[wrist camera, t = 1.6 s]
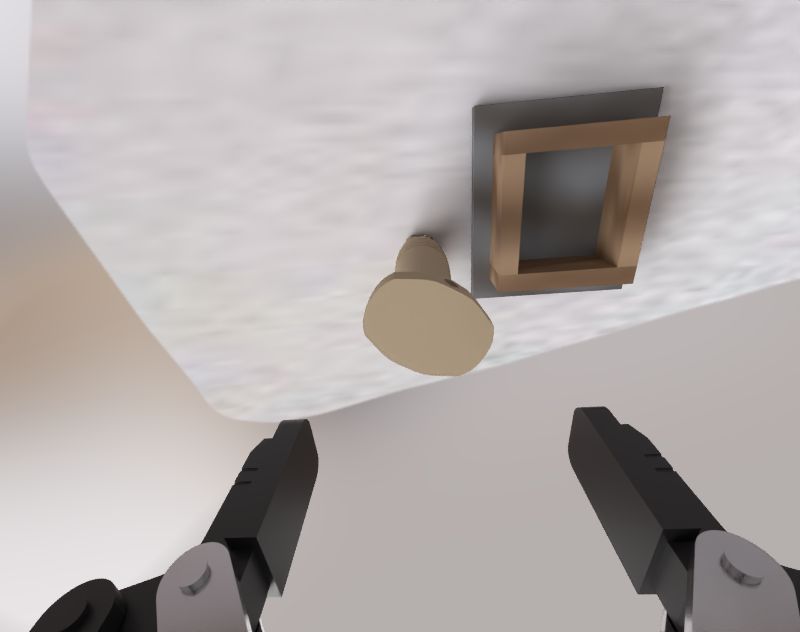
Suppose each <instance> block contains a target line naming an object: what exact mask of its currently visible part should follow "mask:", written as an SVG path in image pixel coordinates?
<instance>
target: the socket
mask: <svg viewBox="0 0 800 632" xmlns="http://www.w3.org/2000/svg"><path fill="white" fill-rule="evenodd" d="M663 88H664V87H660V88H650V89H640V90H630V91H620V92H610V93H600V94H590V95H580V96H570V97H560V98H550V99H540V100H530V101H521V102H511V103H501V104H491V105H481V106H474V107H473V108H472V252H471V295H472V296H473V297H474V298H475V299H476V298H491V297H506V296H521V295H536V294H551V293H566V292H581V291H596V290H611V289H622V284H632V283H633V281H634V276H635V272H636V267H637V263H638V258H639V254H640V250H641V245H642V241H643V236H644V232H645V227H646V223H647V218H648V214H649V209H650V205H651V200H652V196H653V191H654V187H655V183H656V178H657V174H658V169H659V165H660V160H661V156H662V151H663V147H664V142H665V138H666V133H667V129H668V124H669V120H670V116H662V117H658V112H659V108H660V103H661V98H662V93H663Z"/></svg>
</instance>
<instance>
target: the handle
mask: <svg viewBox="0 0 800 632" xmlns="http://www.w3.org/2000/svg"><path fill="white" fill-rule="evenodd" d="M363 328H364V333H365V336H366V337H367V338H368V339H369V340H370V341H371V342H372V343H373V344H374V346H375V347H376V348H377V349H378V350H379V351H380V352H381V353H382V354H383V355H385V356H386V357H387V358H388V359H389V360H391V361H393V362H395V363H397V364H399V365H401V366H404V367H406V368H408V369H411V370H413V371H415V372H419V373H422V374H426V375H435V376H460V375H463V374H465V373H467V372H468V371H470V370H472V369H473V368H474V367H475V366H477V365H478V364H479V363H480V361H481V360H482V359H483V358H484V357H485V355H486V353H487V352H488V350H489V349H490V346H491V343H492V341H493V334H494V326H493V324H492V322H491V320H490V318H489V317H488V316H487V314H486V313H485V311H484V310H483V309H482V307H481V306H480V305H479V303H478V302H477V301H476V299H475V298H474V297H473V296H472V295H471V294H470V293H469V291H468V290H466V289H465V288H463V287H462V286H460V285H459V284H457V283H456V282H454V281H452V280H451V275H450V268H449V264H448V261H447V258H446V256H445V254H444V252H443V250H442V249H441V247H440V246H439V245H438V244H437V243H436V242H435V241H434V239H433V238H432V237H431V236H429V235H426V234H425V235H424V236H418V237H414V236H410V237H409V238H408V239H407V241H406V243H405V244H404V245H403V247H402V248H401V250H400V252H399V254H398V257H397V261H396V267H395V272H394V273H392V274H390V275H388V276H387V277H386V278H384V279H383V280H382V281H381V282H380V283H379V284H378V285H377V286H376V288H375V289H374V291H373V293H372V294H371V296H370V299H369V301H368V304H367V307H366V310H365V314H364V319H363Z"/></svg>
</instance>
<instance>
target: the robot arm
mask: <svg viewBox="0 0 800 632" xmlns="http://www.w3.org/2000/svg"><path fill="white" fill-rule="evenodd" d="M568 453H569V459H570V463H571V465H572V468H573V470H574V472H575V474H576V476H577V478H578V480H579V482H580V483H581V485H582V487H583V489H584V491H585V493H586V495H587V497H588V499H589V501H590V503H591V505H592V507H593V508H594V510H595V512H596V514H597V516H598V518H599V520H600V522H601V524H602V526H603V528H604V530H605V532H606V534H607V536H608V537H609V539H610V541H611V543H612V545H613V547H614V549H615V551H616V553H617V555H618V557H619V559H620V561H621V562H622V564H623V566H624V568H625V570H626V572H627V574H628V576H629V578H630V580H631V582H632V584H633V586H634V588H635V590H636V592H637V593H638V594H657V595H658V597H659V599H660V600H661V602H662V604H663V606H664V610H663V614H662V621H661V631H660V632H800V570H796V569H792V568H788V567H785V566H782V565H779V563H778V562H776V560H775V559H774V558H772V557H771V556H770V555H769V554H768V553H766V552H765V551H764V550H763V549H761V548H760V547H758V546H757V545H755V544H753V543H752V542H750V541H748V540H746V539H744V538H742V537H740V536H738V535H735V534H732V533H729V532H727V531H726V530H725V529H724V528H723V527H722V526H721V525H720V524H719V522H718V521H717V520H716V519H715V518H714V517H713V515H712V514H711V513H710V512H709V511H708V509H707V508H706V507H705V506H704V505H703V503H702V502H701V501H700V500H699V499H698V497H697V496H696V495H695V494H694V493H693V491H692V490H691V489H690V488H689V487H688V485H687V484H686V483H685V482H684V481H683V480H682V478H681V477H680V476H679V475H678V474H677V472H676V471H673V468H672V466H671V465H670V464H669V463H668V462H667V460H666V459H665V458H664V457H662V456H661V453H660V452H659V451H658V450H657V449H656V447H655V446H654V445H653V444H652V443H651V442H650V440H649V439H648V438H647V437H645V436H644V435H643V434H642V433H640V432H639V431H637V430H636V429H634V428H633V427H632V426H630V425H629V424H622V425H621V424H620V423H619V422H618V421H617V419H616V418H615V417H614V416H613V414H612V413H611V412H610V411H609V410H608V409H607V408H606V407H581V408H576V409H575V411H574V415H573V421H572V426H571V433H570V438H569V445H568ZM317 473H318V454H317V450H316V446H315V442H314V438H313V434H312V430H311V426H310V423H309V421H308V420H307V419H301V420H283V421H281V423H280V424H279V426H278V429H277V430H276V432H275V434H274V436H273V438H270V439H264V440H263V441H262V442H261V443H260V444H259V445H258V446H256V447H255V448H254V449H253V450H252V452H251V453H250V454H249V456H248V458H247V460H246V462H245V464H244V465H243V467H242V471H241V472H240V473H239V475H238V477H237V478H236V480H235V484H234V485H233V486H232V488H231V490H230V491H229V493H228V495H227V497H226V499H225V501H224V503H223V504H222V506H221V508H220V510H219V512H218V514H217V516H216V517H215V519H214V521H213V523H212V525H211V527H210V529H209V530H208V532H207V534H206V536H205V538H204V540H203V541H202V543H201V544H200V545H198V546H195V547H193V548H191V549H190V550H188V551H187V552H185V553H184V554H183V555H181V556H180V557H179V558H178V559H177V560H176V561H175V562H174V563H173V564H172V565H171V566H170V567H169V569H168V570H167V572H166V573H165V574H163V575H161V576H158V577H155V578H153V579H150V580H147V581H144V582H142V583H138V584H136V585H133V586H130V587H127V588H124V589H122V590H118V589H117V588H116V587H115V585H114V584H113V583H112V582H111V581H110V580H107V579H95V580H91V581H88V582H85V583H83V584H81V585H79V586H77V587H75V588H74V589H72V590H70V591H69V592H67V593H66V594H65V595H63V596H62V597H61V598H59V600H57V601H56V602H55V603H54V604H53V605H51V606H50V607H49V608H48V609H47V611H46V612H45V613H44V614H43V615H42V616H41V617H40V619H39V620H38V621H37V622H36V623H35V625H34V626H33V628H32V629H31V630H30V631H29V632H265V631H264V627H263V623H262V621H261V617H260V616H261V613H262V610H263V607H264V603H265V600H266V597H282V594H283V591H284V587H285V584H286V581H287V577H288V573H289V570H290V567H291V563H292V560H293V557H294V553H295V550H296V546H297V542H298V539H299V536H300V532H301V529H302V525H303V522H304V519H305V515H306V512H307V508H308V505H309V502H310V498H311V495H312V491H313V487H314V484H315V481H316V477H317Z"/></svg>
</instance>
